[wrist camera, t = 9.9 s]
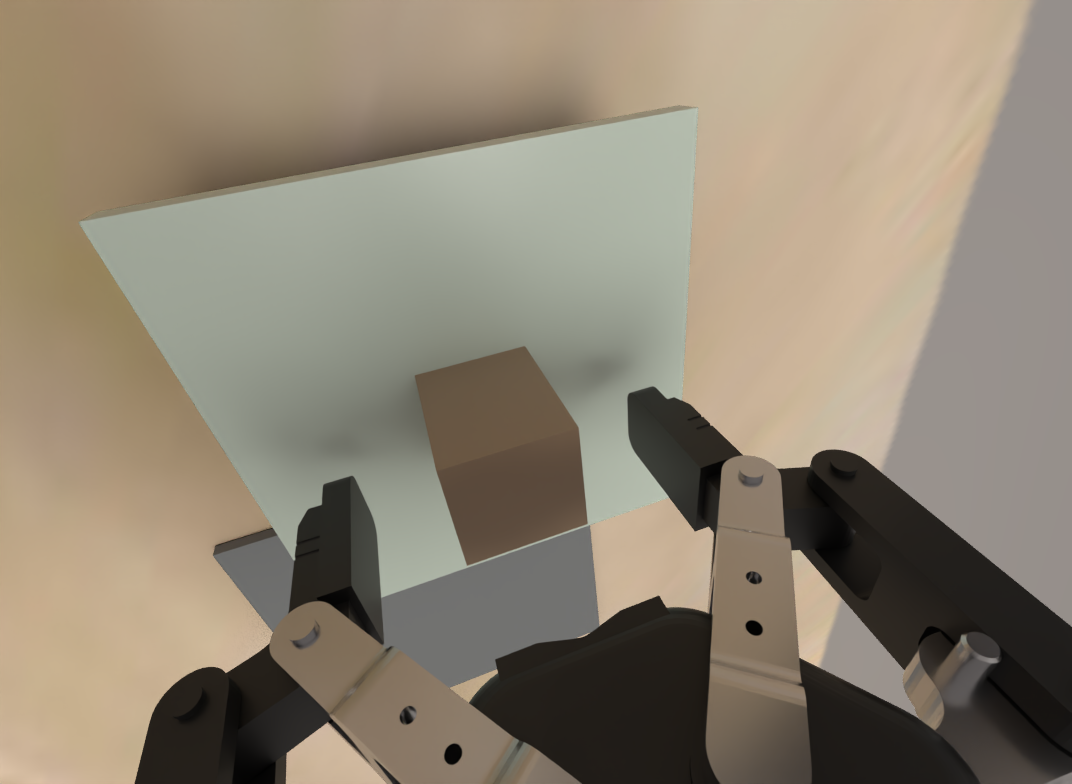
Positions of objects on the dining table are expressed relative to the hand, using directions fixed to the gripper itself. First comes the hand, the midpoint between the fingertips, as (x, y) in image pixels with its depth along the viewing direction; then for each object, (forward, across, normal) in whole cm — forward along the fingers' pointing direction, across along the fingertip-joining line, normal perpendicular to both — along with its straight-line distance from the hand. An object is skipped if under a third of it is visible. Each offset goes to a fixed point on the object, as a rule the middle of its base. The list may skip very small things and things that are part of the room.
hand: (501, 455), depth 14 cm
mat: (+10, +4, +18) cm, 21 cm away
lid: (+4, 0, 0) cm, 4 cm away
